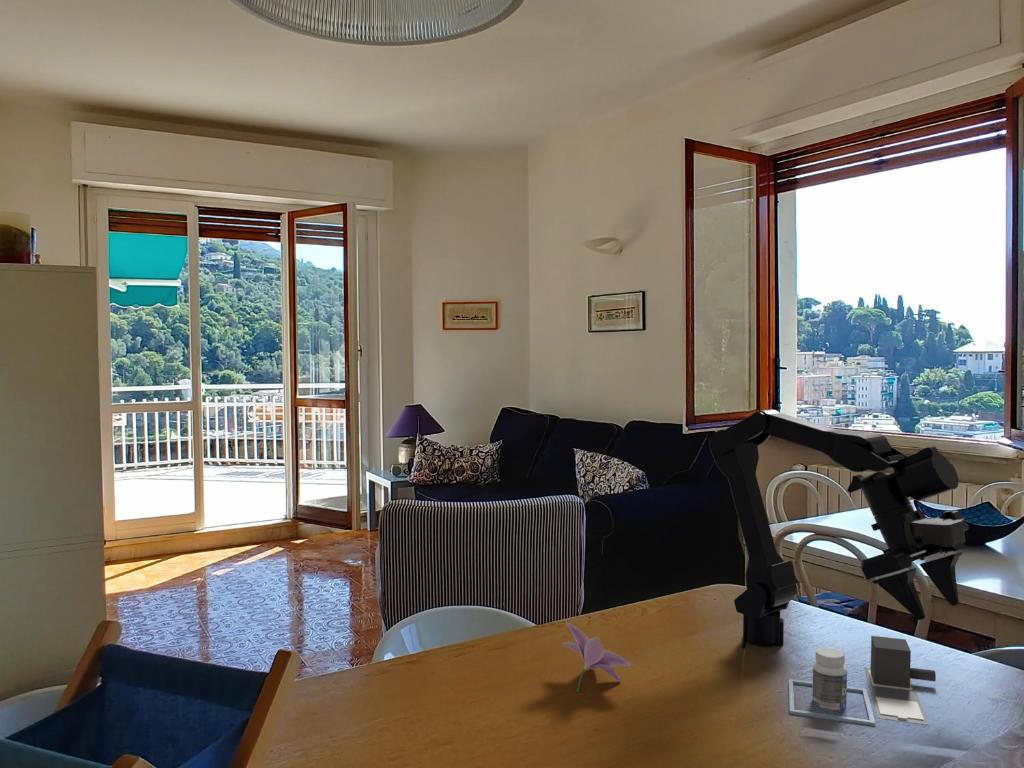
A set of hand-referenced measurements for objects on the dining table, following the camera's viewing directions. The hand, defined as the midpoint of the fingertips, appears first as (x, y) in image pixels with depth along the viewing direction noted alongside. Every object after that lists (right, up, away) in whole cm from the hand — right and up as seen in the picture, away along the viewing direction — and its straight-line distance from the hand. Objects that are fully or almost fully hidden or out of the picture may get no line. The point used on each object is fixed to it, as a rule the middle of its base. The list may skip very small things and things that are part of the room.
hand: (939, 612), depth 115 cm
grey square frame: (-16, -14, +1) cm, 21 cm away
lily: (-50, -14, +9) cm, 53 cm away
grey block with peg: (-1, -13, +8) cm, 15 cm away
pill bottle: (-16, -15, +1) cm, 22 cm away
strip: (-5, -14, +4) cm, 16 cm away
